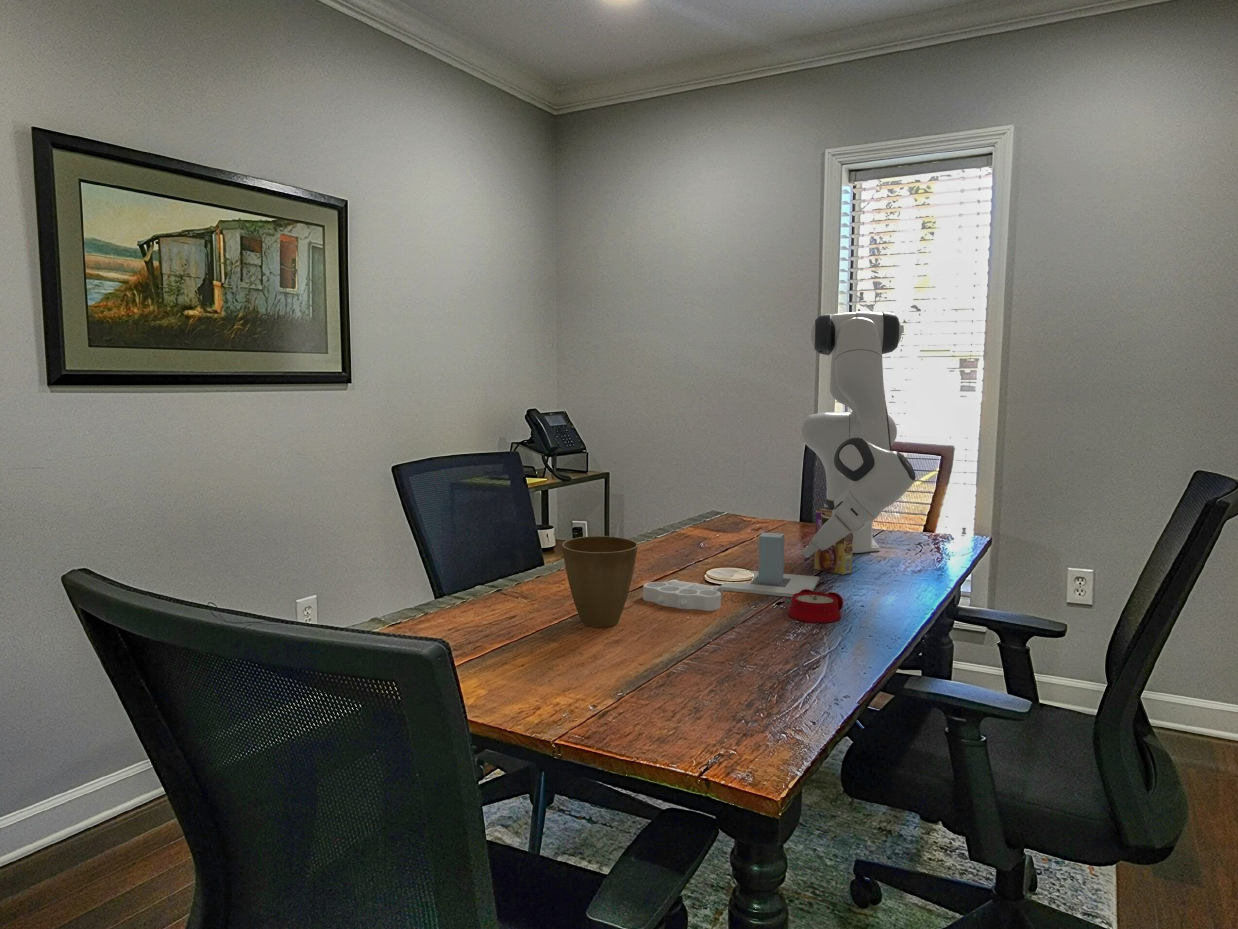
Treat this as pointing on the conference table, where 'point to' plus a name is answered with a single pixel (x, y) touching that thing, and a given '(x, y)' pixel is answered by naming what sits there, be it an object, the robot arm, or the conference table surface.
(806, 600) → the alarm clock
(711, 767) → the conference table surface
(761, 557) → the slate block
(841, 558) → the candy box
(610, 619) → the plant pot
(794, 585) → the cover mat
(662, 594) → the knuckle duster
